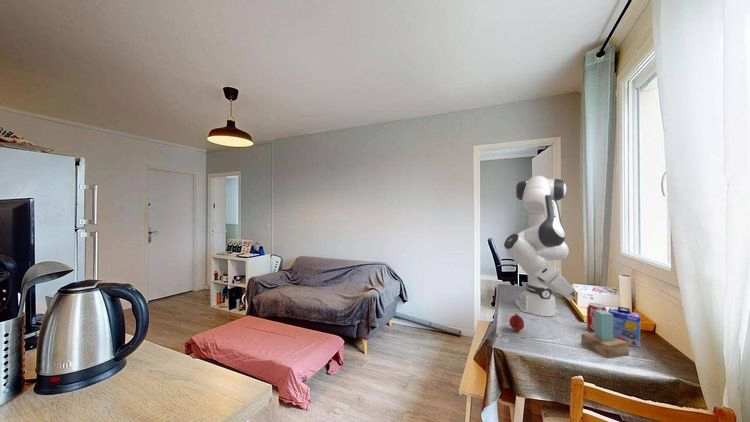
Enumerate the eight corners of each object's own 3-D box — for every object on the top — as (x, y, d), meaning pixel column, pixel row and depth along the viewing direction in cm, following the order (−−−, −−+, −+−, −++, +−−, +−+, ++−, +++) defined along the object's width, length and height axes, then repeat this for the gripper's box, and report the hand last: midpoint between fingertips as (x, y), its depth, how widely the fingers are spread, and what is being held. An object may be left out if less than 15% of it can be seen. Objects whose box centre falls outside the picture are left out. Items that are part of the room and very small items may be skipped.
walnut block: (581, 346, 109) (581, 334, 109) (600, 343, 111) (600, 331, 112) (608, 359, 99) (608, 345, 99) (628, 356, 102) (628, 342, 102)
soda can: (611, 336, 118) (611, 308, 118) (592, 334, 119) (592, 307, 119) (601, 329, 125) (601, 303, 125) (583, 328, 126) (583, 301, 126)
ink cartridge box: (607, 339, 115) (607, 305, 115) (608, 335, 118) (608, 302, 119) (640, 348, 107) (640, 311, 108) (640, 343, 111) (640, 308, 111)
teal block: (594, 335, 108) (594, 310, 108) (606, 336, 107) (605, 310, 107) (601, 340, 104) (601, 313, 104) (613, 340, 103) (613, 314, 103)
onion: (523, 330, 123) (523, 312, 123) (524, 335, 118) (524, 316, 118) (509, 327, 126) (509, 310, 126) (509, 332, 120) (509, 314, 120)
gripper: (520, 268, 118) (542, 292, 118) (546, 281, 98) (574, 310, 97) (531, 258, 118) (553, 282, 117) (560, 269, 97) (587, 298, 97)
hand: (563, 295), depth 107 cm, fingers open, 8 cm apart
